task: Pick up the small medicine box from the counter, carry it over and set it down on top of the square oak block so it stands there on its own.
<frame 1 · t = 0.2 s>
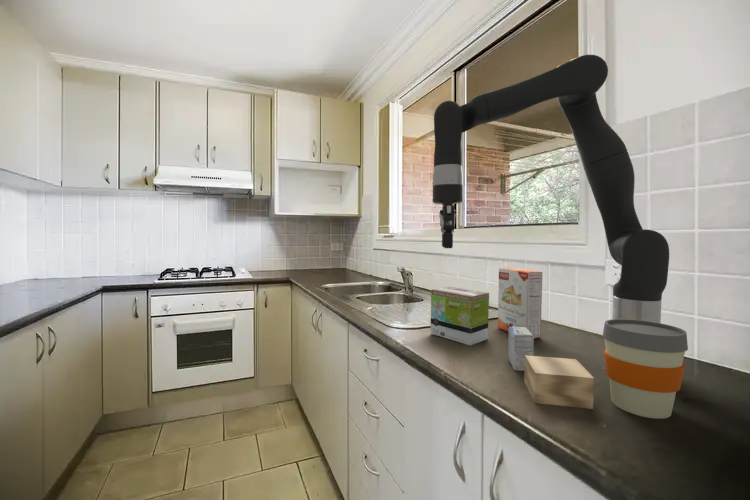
hand: (447, 247, 91), 28 cm above the countertop, tool pointing down, fingers open, 8 cm apart
cracker box: (517, 333, 115), on the countertop
tea box: (458, 338, 110), on the countertop
reusable coffee cup: (640, 407, 66), on the countertop
oak block: (555, 395, 71), on the countertop
medicine box: (519, 366, 86), on the countertop
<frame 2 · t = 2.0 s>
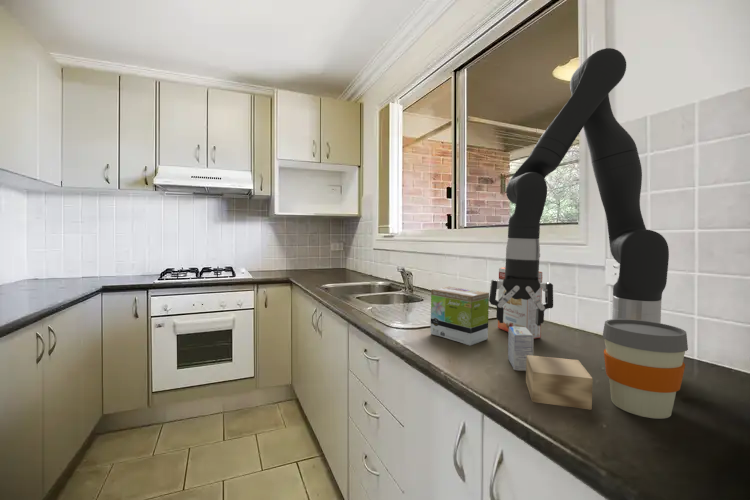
hand: (519, 323, 86), 10 cm above the countertop, tool pointing down, fingers open, 8 cm apart
nothing on the countertop moved.
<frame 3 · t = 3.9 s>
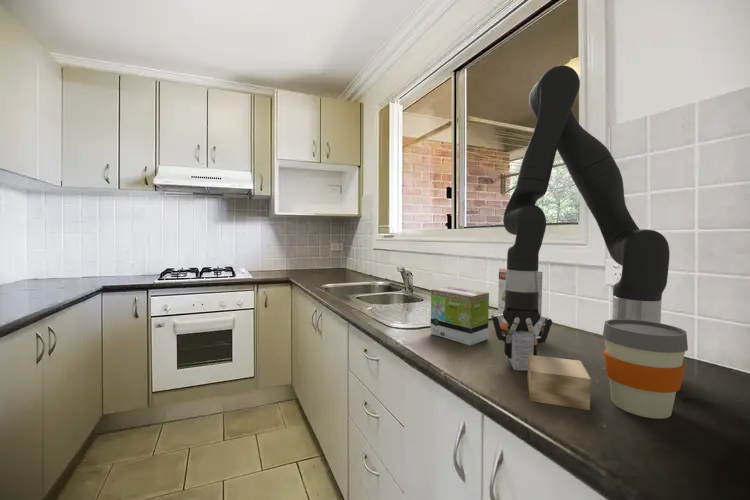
hand: (519, 357, 86), 2 cm above the countertop, tool pointing down, fingers closed on medicine box, 4 cm apart
medicine box: (519, 366, 86), on the countertop, touching gripper
everything else where it was.
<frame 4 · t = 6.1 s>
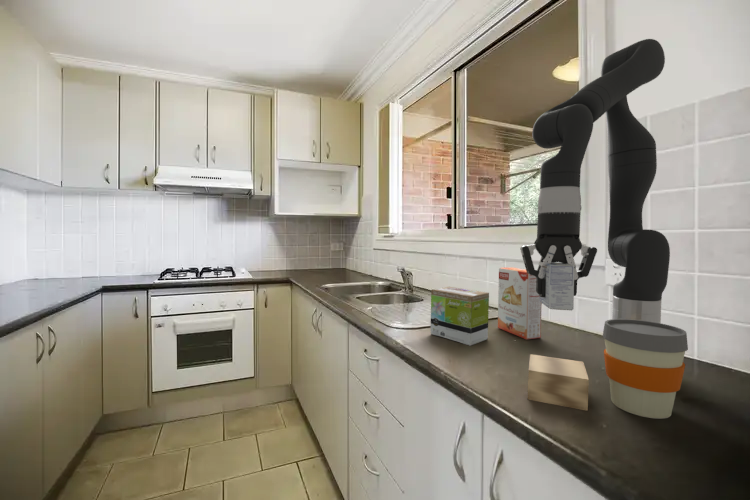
hand: (555, 296, 71), 19 cm above the countertop, tool pointing down, fingers closed on medicine box, 4 cm apart
medicine box: (555, 307, 71), point 17 cm above the countertop, touching gripper
everything else where it was.
when the fingers open (9 cm above the countertop, at t = 8.8 s): medicine box drops 2 cm, resting on oak block.
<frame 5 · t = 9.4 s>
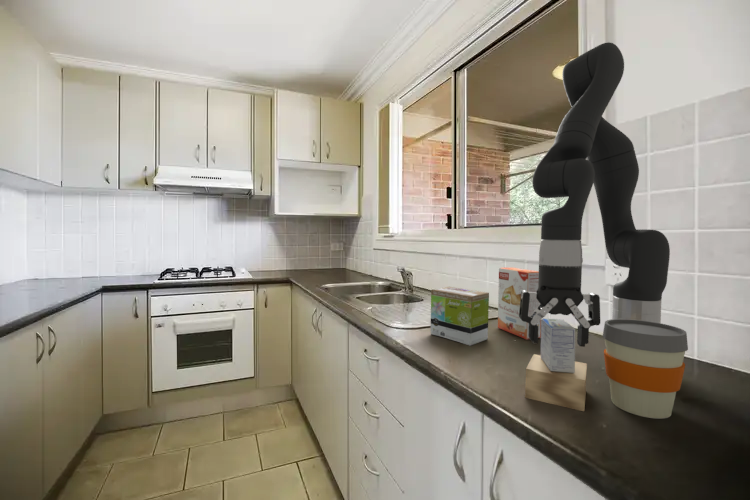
hand: (557, 344, 70), 10 cm above the countertop, tool pointing down, fingers open, 8 cm apart
oak block: (556, 395, 71), on the countertop, touching medicine box
medicine box: (556, 366, 71), point 5 cm above the countertop, touching oak block
everything else where it was.
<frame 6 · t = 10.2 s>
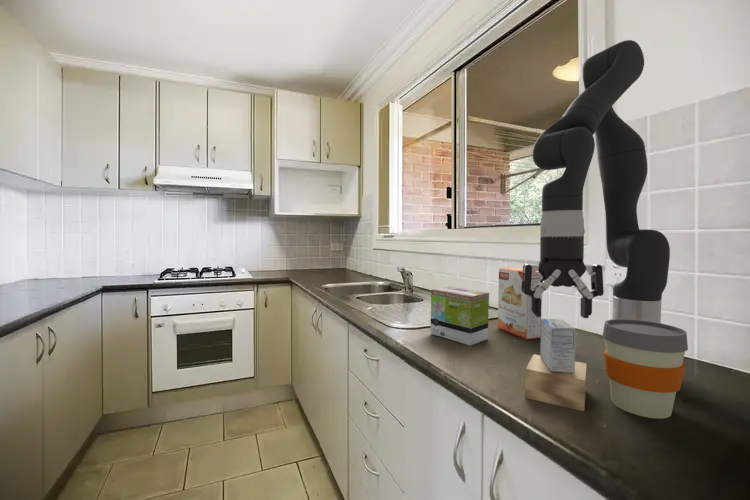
hand: (560, 316, 70), 16 cm above the countertop, tool pointing down, fingers open, 8 cm apart
nothing on the countertop moved.
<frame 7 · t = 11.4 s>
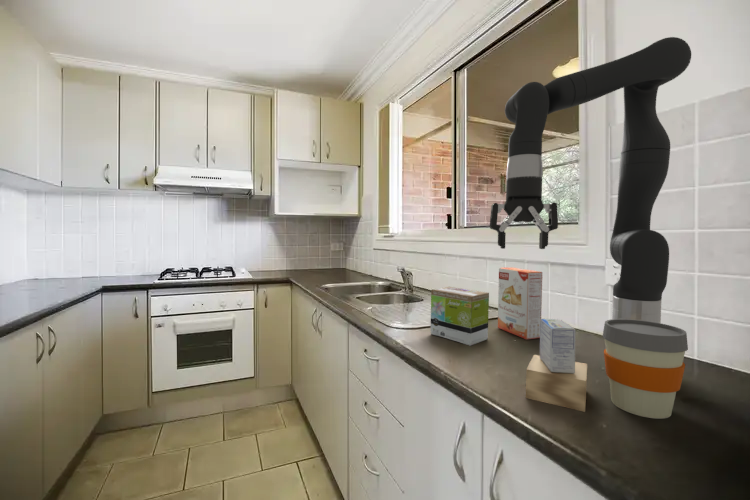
hand: (522, 248, 81), 29 cm above the countertop, tool pointing down, fingers open, 8 cm apart
nothing on the countertop moved.
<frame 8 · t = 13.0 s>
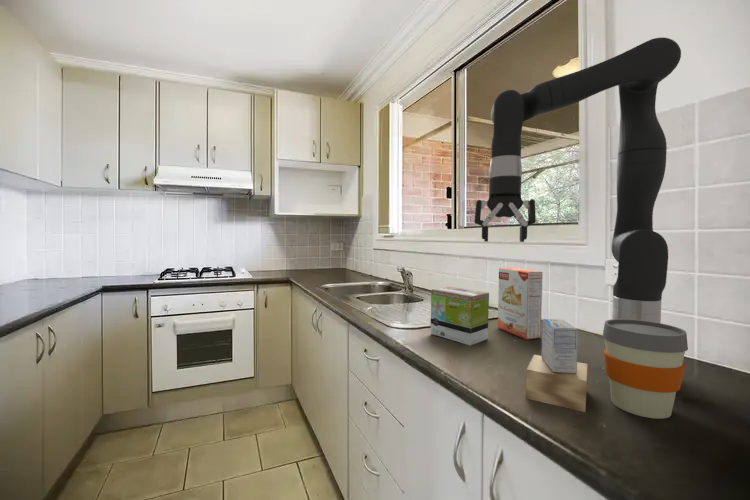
hand: (503, 241, 89), 30 cm above the countertop, tool pointing down, fingers open, 8 cm apart
nothing on the countertop moved.
at the end: medicine box inside the target area on the oak block (0.3 cm from its centre), point 5.8 cm above the oak block's base; medicine box tilted 0°; the gripper is holding nothing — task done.
